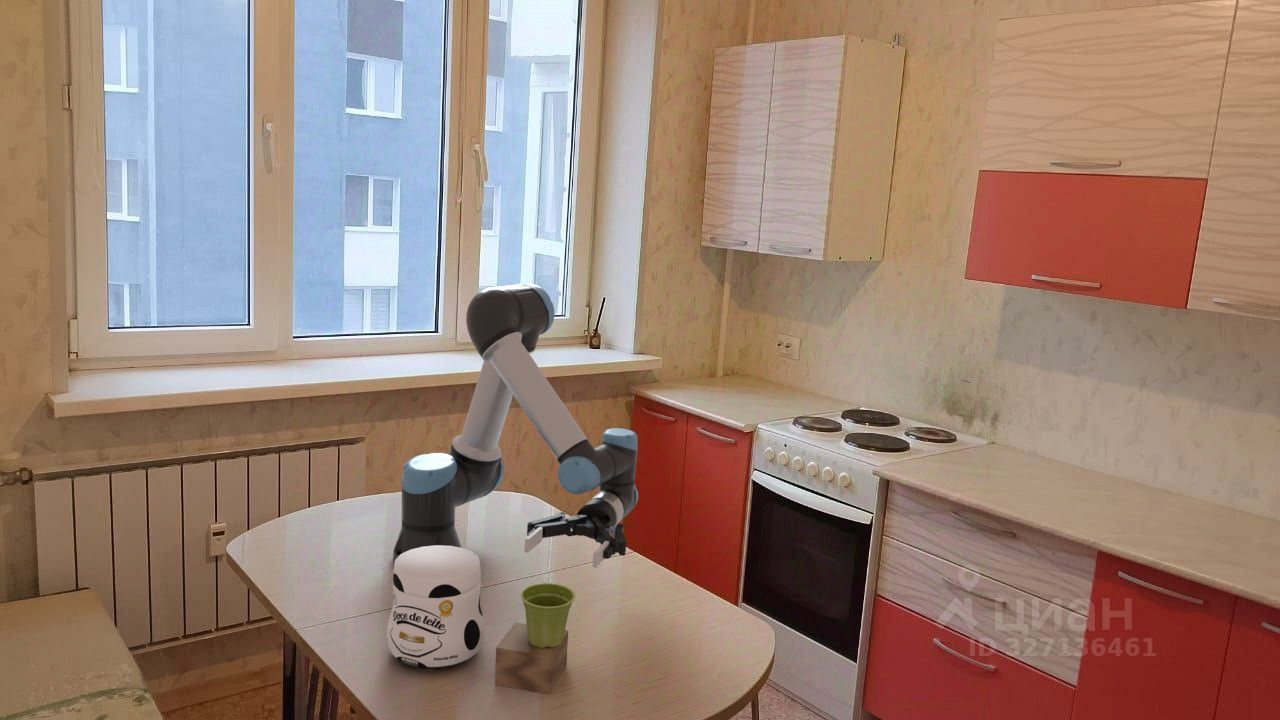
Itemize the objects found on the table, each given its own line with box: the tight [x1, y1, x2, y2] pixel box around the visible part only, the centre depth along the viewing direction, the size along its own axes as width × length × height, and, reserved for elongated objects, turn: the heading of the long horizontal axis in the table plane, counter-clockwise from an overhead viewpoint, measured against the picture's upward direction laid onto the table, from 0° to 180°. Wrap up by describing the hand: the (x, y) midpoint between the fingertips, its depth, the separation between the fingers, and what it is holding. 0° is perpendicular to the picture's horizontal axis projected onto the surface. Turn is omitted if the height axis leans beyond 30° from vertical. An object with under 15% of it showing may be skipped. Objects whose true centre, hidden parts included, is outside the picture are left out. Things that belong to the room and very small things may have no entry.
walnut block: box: [494, 621, 569, 695], centre depth 171 cm, size 10×10×7 cm
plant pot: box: [520, 582, 576, 648], centre depth 169 cm, size 9×9×9 cm
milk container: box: [386, 545, 485, 670], centre depth 176 cm, size 17×17×18 cm
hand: (560, 553), depth 179 cm, fingers open, 13 cm apart
